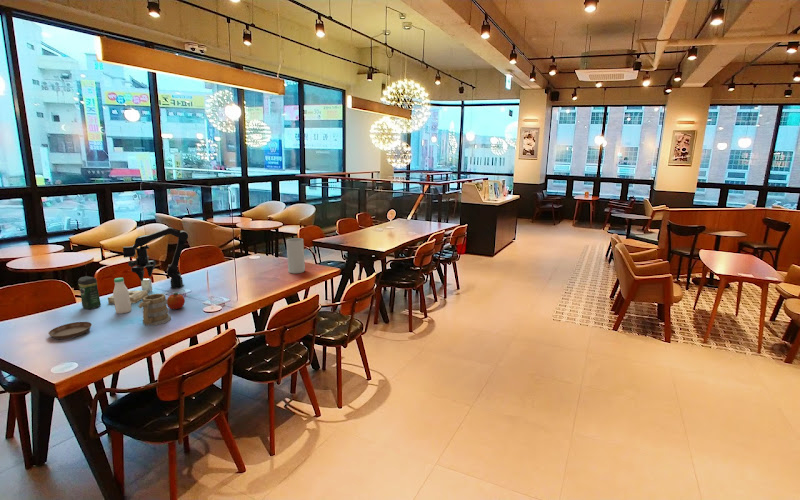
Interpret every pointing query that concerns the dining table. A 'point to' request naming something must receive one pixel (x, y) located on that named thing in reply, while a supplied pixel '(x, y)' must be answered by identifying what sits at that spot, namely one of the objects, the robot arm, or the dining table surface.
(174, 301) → the fruit
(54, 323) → the dining table surface
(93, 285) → the coffee jar
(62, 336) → the plant saucer
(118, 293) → the milk bottle
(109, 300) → the well block
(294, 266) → the cylinder vase
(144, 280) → the tall grey box
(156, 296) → the tankard
